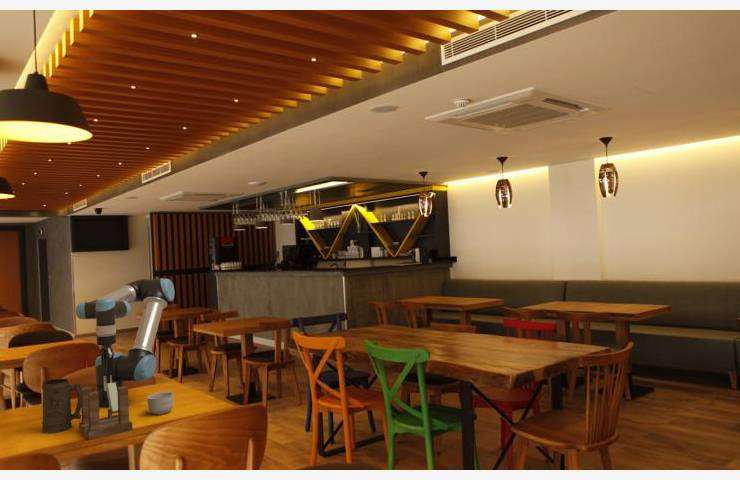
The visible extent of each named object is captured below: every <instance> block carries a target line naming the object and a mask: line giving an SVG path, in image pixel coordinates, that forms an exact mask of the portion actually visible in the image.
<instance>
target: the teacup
mask: <svg viewBox="0 0 740 480" xmlns="http://www.w3.org/2000/svg"><path fill="white" fill-rule="evenodd" d="M146 399H147V406H148V407H147V408H148V410H149V412H150V413H151V414H153V415H154V416H155V415H156V416H158V415H164V414H167V413H169V412H170V411H171V410H172V409H173V407H174V393H173V392H172V391H163V392H156V393H152V394H150V395H148V396H147V397H146Z"/></svg>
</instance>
